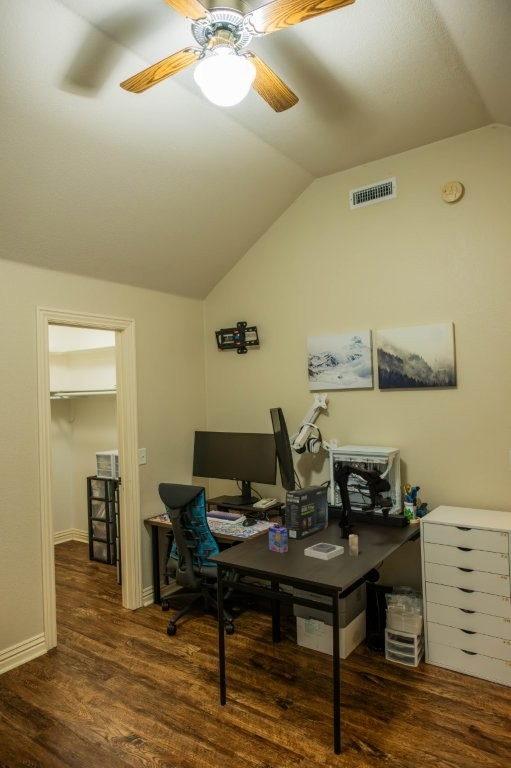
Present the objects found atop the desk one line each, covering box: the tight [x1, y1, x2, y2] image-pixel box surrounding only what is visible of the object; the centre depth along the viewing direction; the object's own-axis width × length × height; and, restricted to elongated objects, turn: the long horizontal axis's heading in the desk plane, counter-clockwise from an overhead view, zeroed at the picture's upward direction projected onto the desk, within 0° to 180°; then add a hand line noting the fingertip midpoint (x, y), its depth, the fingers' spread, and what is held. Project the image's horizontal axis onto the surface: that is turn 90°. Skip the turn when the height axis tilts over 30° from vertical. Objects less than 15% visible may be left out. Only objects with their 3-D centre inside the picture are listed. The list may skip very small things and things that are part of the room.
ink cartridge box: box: [268, 523, 289, 554], centre depth 260 cm, size 10×6×14 cm, turn 45°
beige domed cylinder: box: [348, 534, 359, 557], centre depth 250 cm, size 4×4×10 cm
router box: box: [284, 484, 329, 540], centre depth 297 cm, size 36×11×27 cm, turn 144°
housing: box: [304, 542, 345, 561], centre depth 252 cm, size 14×16×4 cm
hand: (380, 522), depth 260 cm, fingers open, 9 cm apart
